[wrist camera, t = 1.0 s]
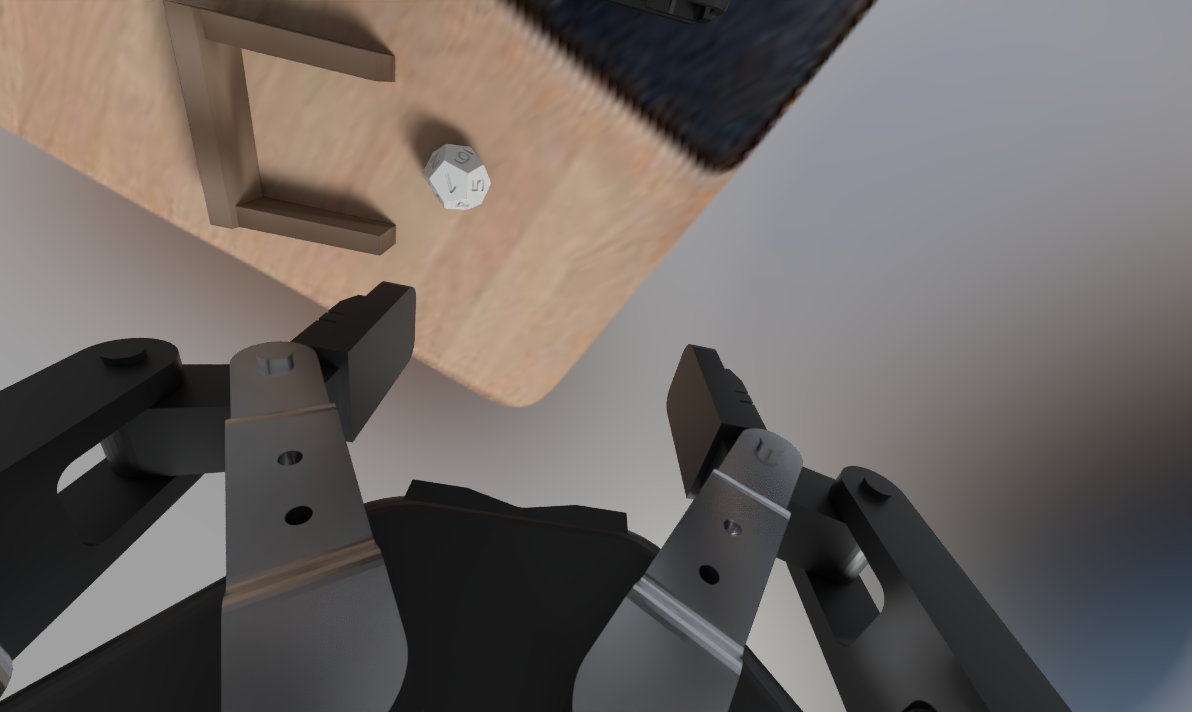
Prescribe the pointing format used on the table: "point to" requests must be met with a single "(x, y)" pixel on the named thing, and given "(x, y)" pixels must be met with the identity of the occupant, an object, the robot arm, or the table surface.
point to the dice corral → (226, 125)
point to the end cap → (680, 9)
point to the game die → (457, 177)
